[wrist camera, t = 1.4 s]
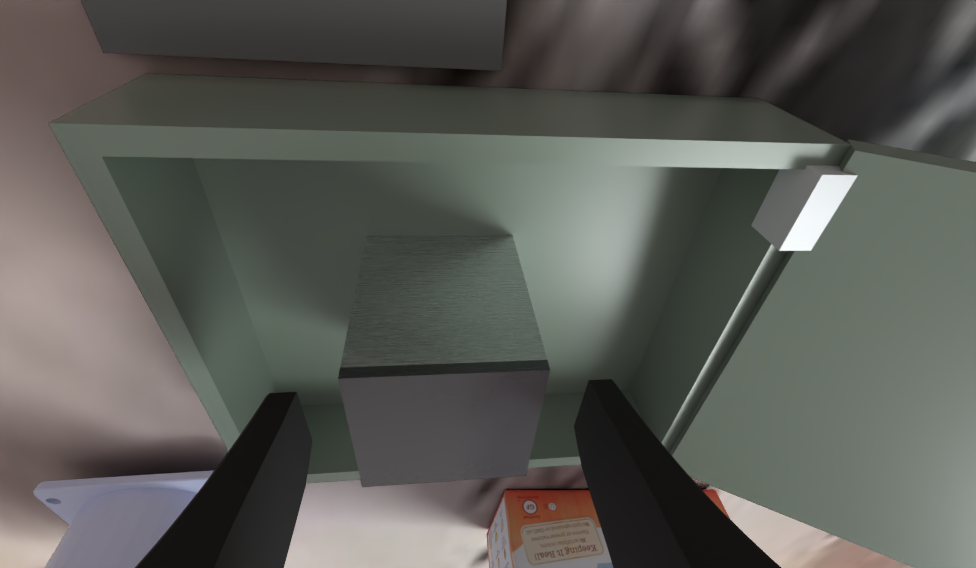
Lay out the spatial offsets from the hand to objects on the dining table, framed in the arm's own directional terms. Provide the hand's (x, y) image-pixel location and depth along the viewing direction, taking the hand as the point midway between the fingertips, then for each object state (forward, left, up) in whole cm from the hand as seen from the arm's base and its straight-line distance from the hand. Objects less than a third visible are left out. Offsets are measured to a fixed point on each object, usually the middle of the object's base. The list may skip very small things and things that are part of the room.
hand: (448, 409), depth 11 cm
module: (0, 0, -5) cm, 5 cm away
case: (0, -1, -5) cm, 5 cm away
